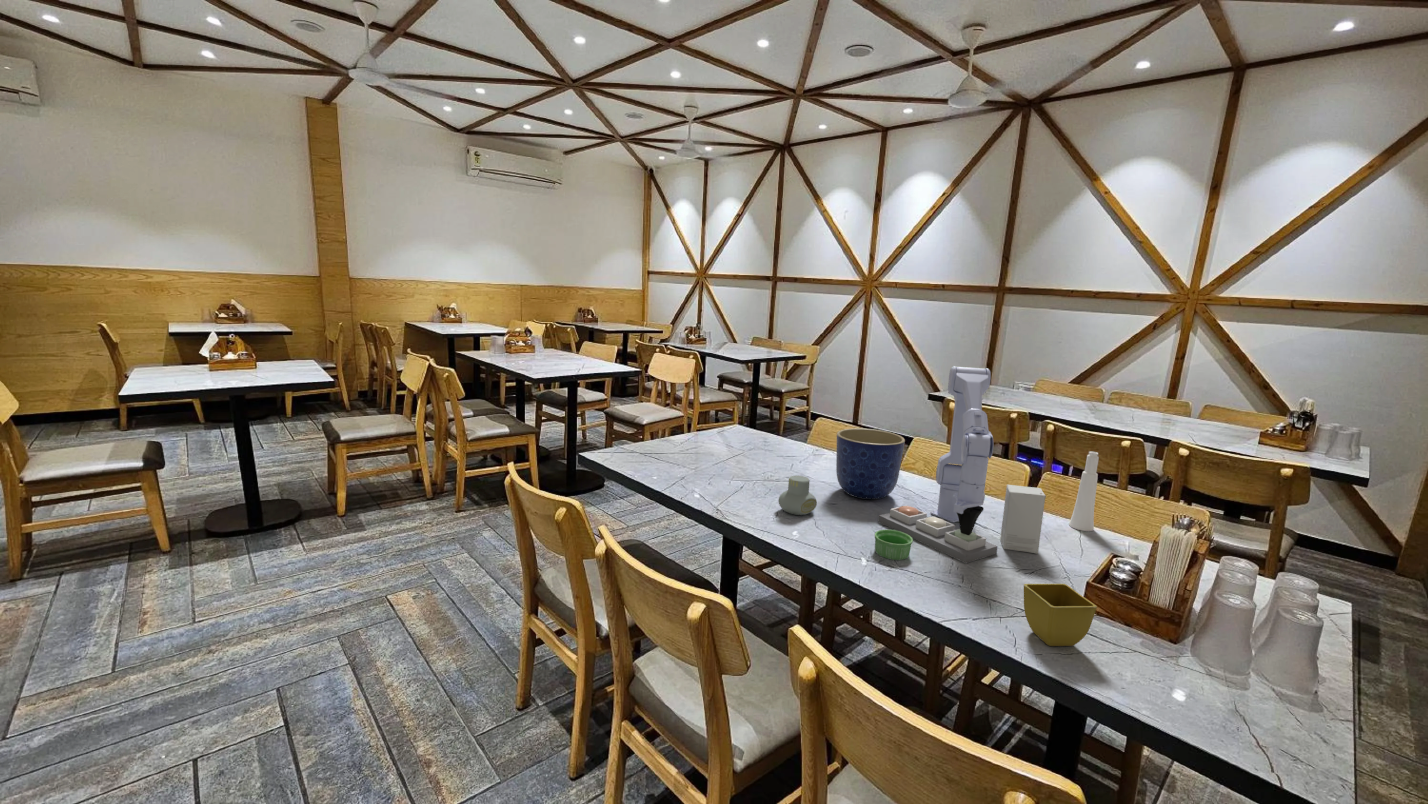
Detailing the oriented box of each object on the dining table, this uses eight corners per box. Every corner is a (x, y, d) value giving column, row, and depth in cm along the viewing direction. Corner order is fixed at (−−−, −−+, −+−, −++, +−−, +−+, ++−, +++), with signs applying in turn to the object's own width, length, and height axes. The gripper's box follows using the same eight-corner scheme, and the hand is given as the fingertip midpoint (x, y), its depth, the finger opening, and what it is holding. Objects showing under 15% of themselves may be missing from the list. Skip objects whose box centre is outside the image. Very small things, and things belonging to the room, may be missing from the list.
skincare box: (1033, 544, 152) (1042, 487, 149) (1038, 555, 146) (1047, 495, 143) (998, 539, 155) (1006, 483, 152) (1001, 549, 149) (1010, 490, 146)
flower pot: (1015, 625, 113) (1022, 582, 112) (1058, 625, 114) (1065, 582, 112) (1044, 653, 105) (1052, 607, 103) (1090, 652, 106) (1098, 606, 104)
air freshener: (795, 520, 162) (797, 485, 160) (773, 511, 168) (775, 477, 166) (820, 511, 169) (822, 478, 167) (798, 503, 175) (800, 471, 173)
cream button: (933, 524, 157) (934, 515, 157) (949, 531, 153) (950, 522, 153) (920, 527, 155) (921, 518, 154) (936, 534, 151) (937, 525, 150)
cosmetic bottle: (1095, 527, 166) (1108, 452, 162) (1091, 533, 162) (1104, 456, 158) (1071, 521, 170) (1083, 448, 166) (1066, 526, 166) (1078, 451, 162)
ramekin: (891, 564, 138) (893, 546, 137) (865, 548, 145) (866, 532, 145) (919, 557, 142) (920, 540, 141) (892, 543, 150) (893, 527, 149)
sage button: (962, 536, 150) (963, 528, 149) (979, 544, 146) (981, 535, 145) (949, 540, 147) (950, 531, 147) (967, 548, 143) (968, 538, 143)
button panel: (907, 515, 169) (909, 502, 168) (996, 553, 146) (998, 538, 145) (878, 521, 163) (879, 508, 162) (965, 563, 140) (967, 547, 139)
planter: (906, 492, 189) (912, 435, 186) (888, 510, 172) (894, 448, 169) (845, 479, 200) (849, 425, 197) (822, 495, 183) (826, 436, 180)
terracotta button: (907, 513, 165) (907, 504, 165) (921, 519, 161) (922, 510, 160) (894, 515, 162) (895, 507, 162) (908, 522, 158) (909, 513, 158)
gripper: (967, 472, 151) (961, 521, 154) (944, 483, 141) (937, 536, 144) (995, 478, 147) (988, 529, 149) (973, 490, 136) (966, 545, 139)
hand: (965, 533), depth 146 cm, fingers closed, pressing on sage button
